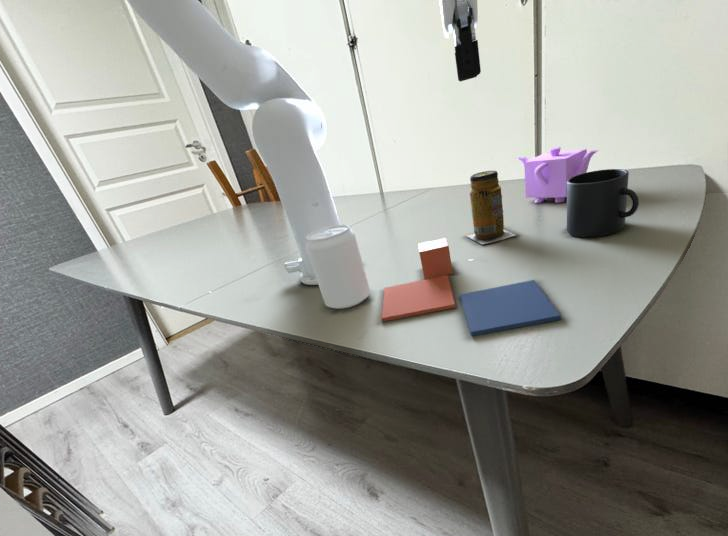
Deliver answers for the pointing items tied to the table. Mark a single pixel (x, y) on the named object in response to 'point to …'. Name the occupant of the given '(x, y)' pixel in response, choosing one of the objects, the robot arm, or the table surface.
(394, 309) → the terracotta mat
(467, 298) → the slate mat
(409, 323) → the table surface
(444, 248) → the terracotta block
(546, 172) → the teapot
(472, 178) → the condiment
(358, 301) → the beverage can
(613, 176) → the mug
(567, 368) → the table surface
